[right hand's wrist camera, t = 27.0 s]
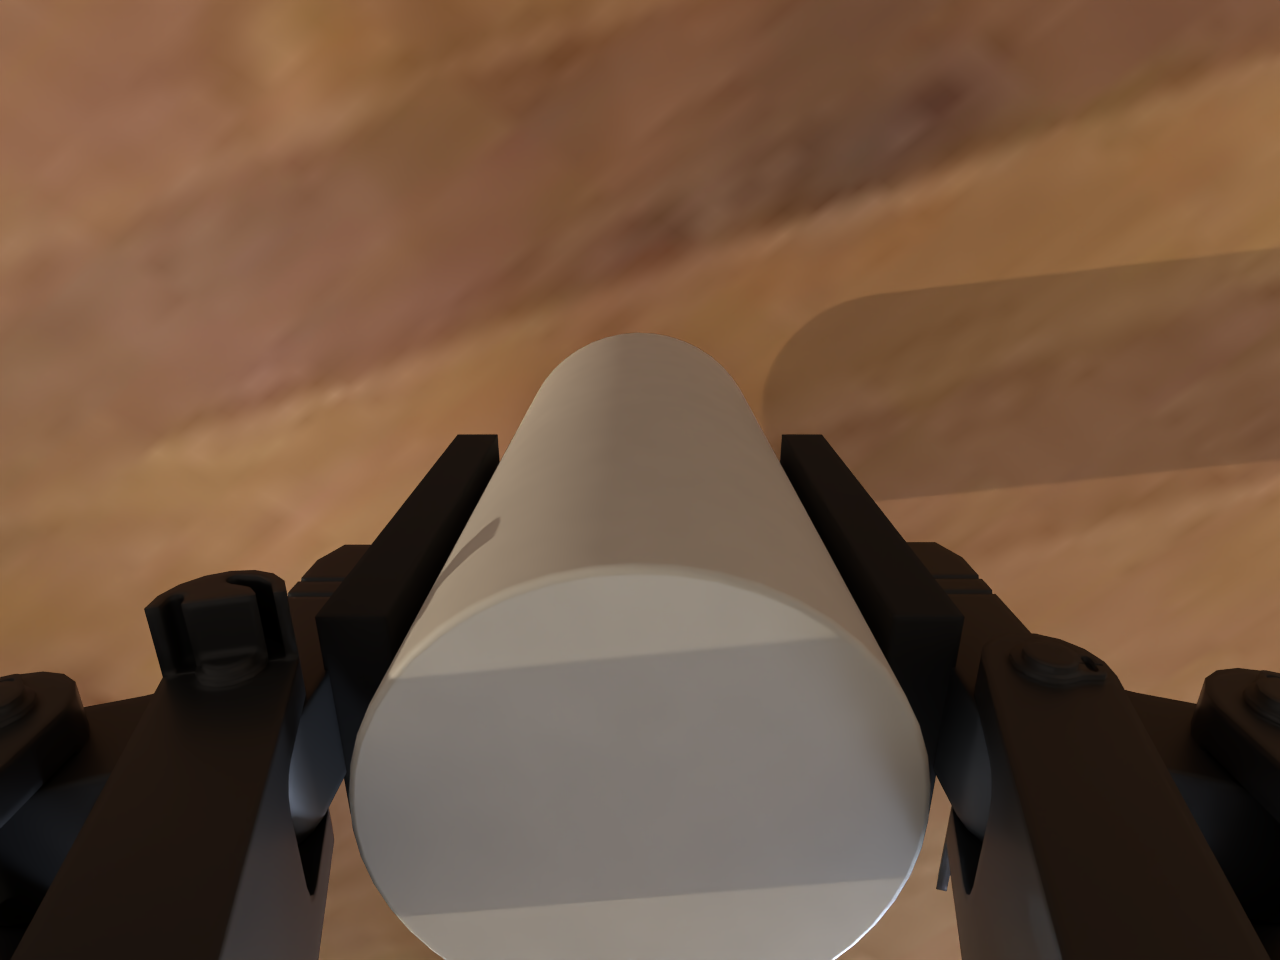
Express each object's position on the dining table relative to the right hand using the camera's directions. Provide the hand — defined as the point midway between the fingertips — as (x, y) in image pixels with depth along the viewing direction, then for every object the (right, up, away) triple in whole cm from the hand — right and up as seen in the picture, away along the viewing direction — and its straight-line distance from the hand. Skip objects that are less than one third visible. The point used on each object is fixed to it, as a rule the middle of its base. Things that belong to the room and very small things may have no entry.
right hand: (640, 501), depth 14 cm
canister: (0, +1, +3) cm, 3 cm away
